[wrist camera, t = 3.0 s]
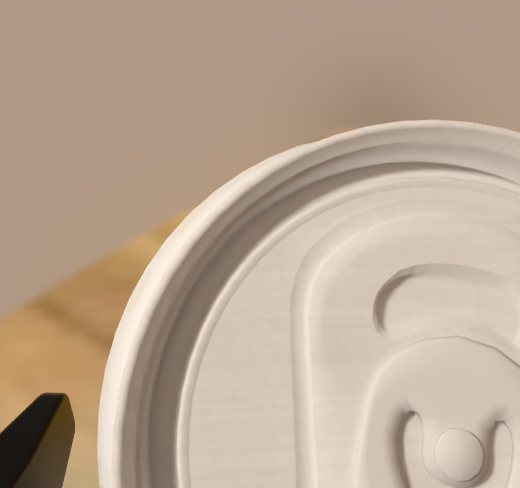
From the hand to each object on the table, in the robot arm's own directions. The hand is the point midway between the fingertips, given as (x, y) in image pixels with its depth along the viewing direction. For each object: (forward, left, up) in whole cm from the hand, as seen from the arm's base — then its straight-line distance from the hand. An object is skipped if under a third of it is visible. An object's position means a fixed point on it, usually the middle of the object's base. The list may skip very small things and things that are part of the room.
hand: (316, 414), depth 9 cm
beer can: (+1, 0, -10) cm, 10 cm away
